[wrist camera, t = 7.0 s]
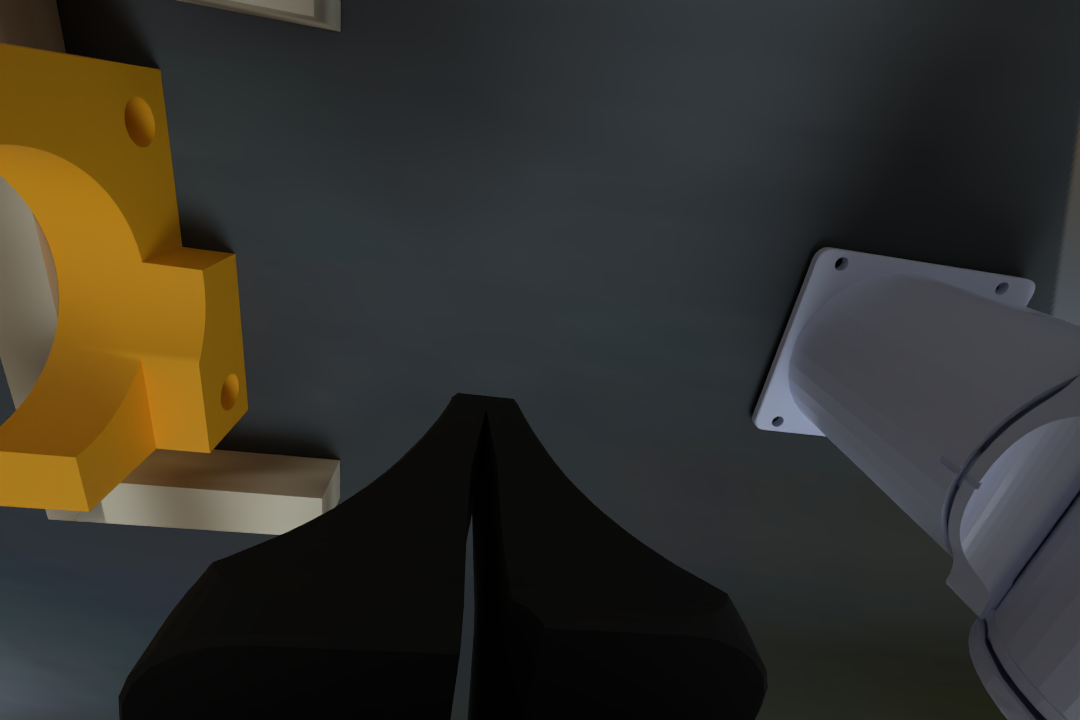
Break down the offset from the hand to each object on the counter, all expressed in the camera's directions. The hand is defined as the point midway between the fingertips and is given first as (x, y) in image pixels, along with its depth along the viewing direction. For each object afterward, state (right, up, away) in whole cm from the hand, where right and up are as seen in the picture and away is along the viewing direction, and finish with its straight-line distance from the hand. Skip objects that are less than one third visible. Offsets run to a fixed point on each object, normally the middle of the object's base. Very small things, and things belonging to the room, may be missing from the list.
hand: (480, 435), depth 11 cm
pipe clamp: (-12, +5, +7) cm, 15 cm away
